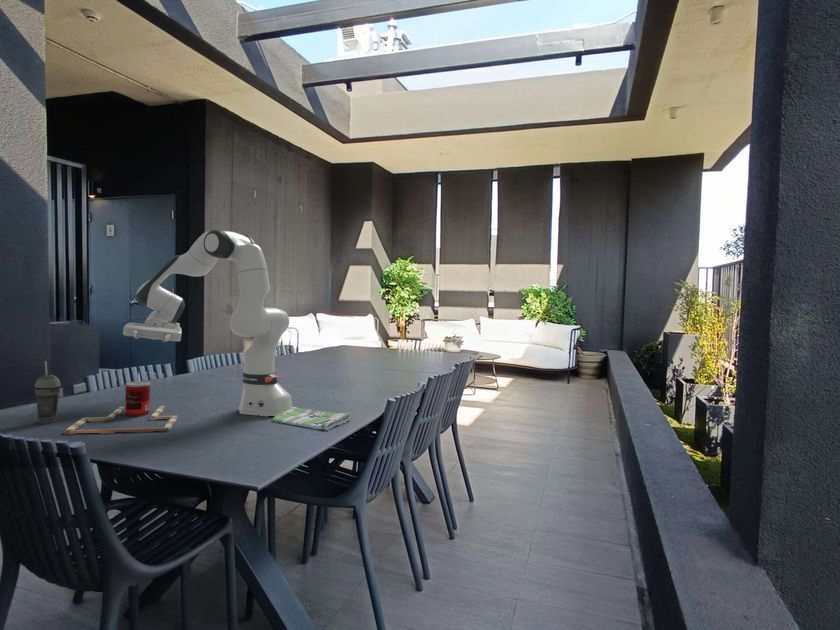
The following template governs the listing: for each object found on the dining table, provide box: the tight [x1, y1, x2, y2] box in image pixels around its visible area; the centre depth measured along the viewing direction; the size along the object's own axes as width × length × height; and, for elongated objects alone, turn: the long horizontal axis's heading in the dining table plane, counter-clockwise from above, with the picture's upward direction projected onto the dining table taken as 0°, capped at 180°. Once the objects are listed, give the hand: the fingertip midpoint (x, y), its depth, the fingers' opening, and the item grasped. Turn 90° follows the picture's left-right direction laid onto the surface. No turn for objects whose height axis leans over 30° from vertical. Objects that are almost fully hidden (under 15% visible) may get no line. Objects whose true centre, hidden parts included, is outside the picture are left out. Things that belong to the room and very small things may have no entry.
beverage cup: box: [33, 360, 62, 425], centre depth 171 cm, size 7×7×20 cm
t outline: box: [62, 405, 179, 435], centre depth 178 cm, size 32×29×1 cm
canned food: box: [124, 380, 151, 417], centre depth 187 cm, size 8×8×11 cm
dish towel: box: [271, 407, 351, 428], centre depth 187 cm, size 17×23×4 cm
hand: (150, 338), depth 197 cm, fingers open, 8 cm apart
